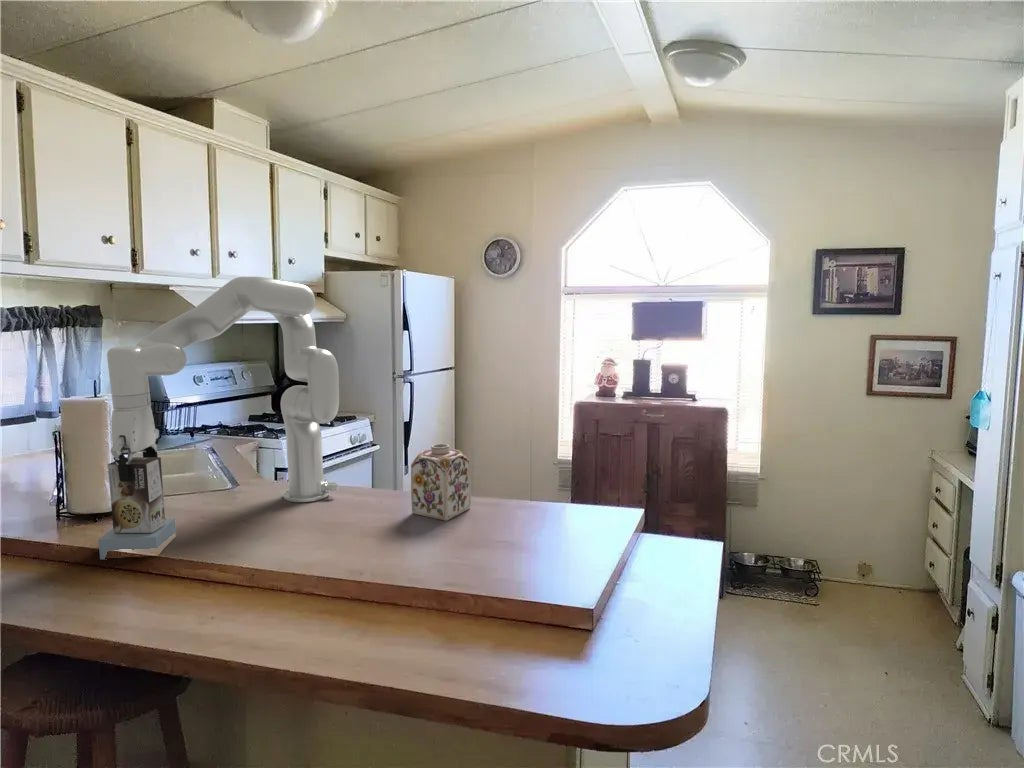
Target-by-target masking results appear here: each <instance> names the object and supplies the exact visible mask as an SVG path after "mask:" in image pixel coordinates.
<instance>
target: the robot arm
mask: <svg viewBox="0 0 1024 768" xmlns="http://www.w3.org/2000/svg"><path fill="white" fill-rule="evenodd" d="M315 305H316V297H315V294H314V292H313V290H311V288H309V286H307V285H305V284H302V283H297V282H292V281H284V280H279V279H274V278H269V277H263V276H238V277H235V278H233V279H231V280H229V281H228V282H227V283H225V284H224V285H223V286H221V287H220V288H218V290H216V291H215V292H214V293H212V294H211V295H210V296H208V297H207V298H206V299H205V300H203V301H202V302H201V303H200V304H198V305H197V306H195V307H193V308H192V309H190V310H188V311H185V312H184V313H182V314H180V315H179V316H176V317H175V318H172V319H170V320H168V321H167V322H165V323H163V324H161V325H160V326H158V327H157V328H155V329H154V330H153V331H151V332H150V333H149V334H147V335H146V336H145V337H143V338H142V339H141V340H140V341H138V343H137V344H136V345H119V346H114V347H111V348H110V349H108V351H107V354H106V359H107V367H108V375H109V376H108V377H109V384H110V393H111V400H112V413H111V441H112V443H111V445H112V447H111V448H110V452H111V455H112V456H113V460H114V461H116V464H117V465H118V470H119V479H120V481H121V482H133V481H135V473H134V465H133V463H131V462H132V458H133V457H134V455H135V454H138V453H139V452H141V451H143V452H142V457H158V450H159V447H158V444H159V441H160V440H159V435H160V430H159V429H158V428H156V425H155V420H154V419H155V418H154V415H153V414H154V413H153V409H152V407H151V406H152V401H151V393H150V392H151V391H150V390H151V389H150V382H149V377H150V376H153V377H154V376H157V377H158V376H161V377H162V376H172V375H173V376H174V375H176V374H178V373H180V372H182V370H183V369H184V368H185V367H186V365H187V359H188V358H187V354H186V352H185V351H184V348H186V347H188V346H190V345H192V344H195V343H198V342H203V341H206V340H211V339H213V338H215V337H219V336H220V335H222V334H223V333H224V332H226V331H227V330H228V329H229V328H231V327H232V326H233V325H234V324H235V323H236V322H238V321H239V320H240V319H242V318H243V317H244V316H245V315H247V314H248V313H249V312H253V311H255V312H265V313H269V314H270V315H272V316H273V317H274V318H275V319H276V321H277V322H278V323H279V325H280V328H281V332H282V336H283V337H282V338H283V361H284V362H283V363H284V371H285V374H286V376H287V377H288V378H290V380H291V379H292V380H294V381H298V382H304V383H307V385H301V384H299V385H292V386H291V387H288V388H287V389H285V391H284V392H283V393H282V395H281V398H280V410H281V415H282V419H283V423H284V430H285V440H286V441H285V442H286V445H285V446H286V457H287V458H286V459H287V462H286V464H287V477H288V489H286V490H285V491H284V492H283V499H284V500H285V501H287V502H291V503H292V502H293V503H309V502H315V501H320V500H323V499H325V498H327V497H328V496H330V493H331V491H332V492H336V491H337V492H338V491H339V484H338V483H337V482H336V481H335V482H329V481H327V477H325V476H324V465H323V464H324V463H323V445H322V444H323V443H322V440H323V439H322V430H321V425H322V424H328V423H330V422H332V421H333V420H334V419H335V418H336V416H337V415H338V412H339V408H340V407H339V406H340V380H339V379H340V377H339V374H340V373H339V365H338V361H337V359H336V357H335V356H334V354H333V353H332V352H331V351H329V350H327V349H326V348H325V349H324V348H319V347H317V340H316V338H317V337H316V328H315V324H314V320H313V319H312V316H311V315H310V313H312V312H313V310H314V309H315ZM320 424H321V425H320ZM126 456H127V458H126Z"/></svg>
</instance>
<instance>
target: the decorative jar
mask: <svg viewBox="0 0 1024 768" xmlns="http://www.w3.org/2000/svg"><path fill="white" fill-rule="evenodd" d="M471 488H472V487H471V461H470V459H469V458H468V456H466V454H464V453H463V452H462V451H461V450H459V449H455V448H450V445H449V444H446V443H437V444H433V445H431V447H430V449H426V450H423V451H419V453H418V454H417V456H416V457H415V458H414V460H413V461H412V462H411V463H410V500H411V513H412V514H414V515H417V516H422V517H427V518H432V519H436V520H440V521H446V522H447V521H449V520H451V519H453V518H455V517H457V516H460V515H461V514H462V513H464V512H466V511H468V510H469V509H471V506H472V505H471V503H472V500H471V498H472V495H471V492H472V491H471V490H472V489H471Z"/></svg>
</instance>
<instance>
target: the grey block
mask: <svg viewBox="0 0 1024 768" xmlns="http://www.w3.org/2000/svg"><path fill="white" fill-rule="evenodd" d="M175 532H176V533H177V529H176V518H173V517H172V518H165V525H164V526H162V527H161V528H159V529H157V530H155V531H154V532H152V533H113V527H112V528H111V529H109V530H108V531H106V533H105V534H103V535H102V536H101V537H100V538H99V539H98V550H99V560H106V559H105V557H106V555H107V552H108V551H110V550H119V549H132V550H134V549H150V548H158V547H159V546H160V545H161V544H162V543H163V542H164V541H166V540H167V539H168V538H169V537H170V536H172V535H173V534H174V533H175Z"/></svg>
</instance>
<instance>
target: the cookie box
mask: <svg viewBox="0 0 1024 768" xmlns="http://www.w3.org/2000/svg"><path fill="white" fill-rule="evenodd" d="M125 457H126V456H125ZM126 458H127V457H126ZM161 460H162V459H161V456H160V457H143V456H141V457H140V456H138V457H136V456H133V458H132V462H131V463H133V465H134V473H135V481H133V482H121V481H120V479H119V470H118V465H117V464H116V461H115V460H114V461H113V462H110V463H107V473H108V482H109V495H110V507H111V518H112V528H113V533H152V532H154V531H155V530H157V529H159V528H161V527H162V526H164V525H165V519H166V515H165V513H166V512H165V499H164V489H163V488H164V487H163V471H162V461H161Z"/></svg>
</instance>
